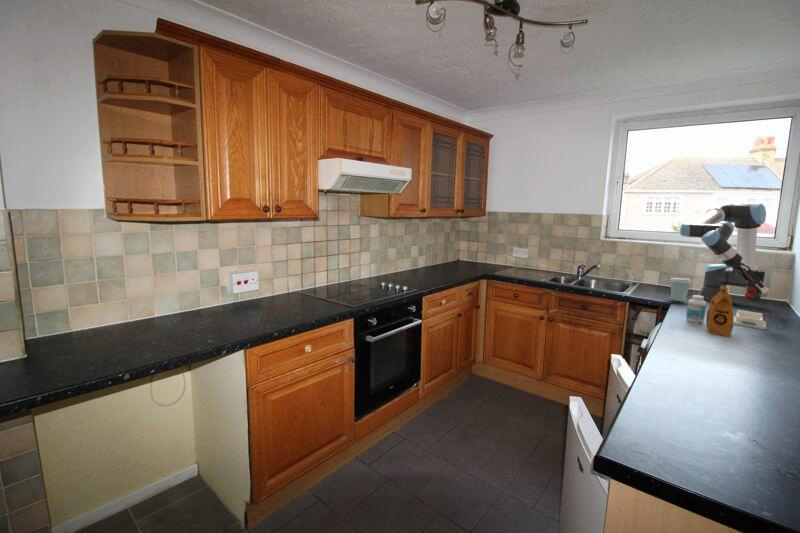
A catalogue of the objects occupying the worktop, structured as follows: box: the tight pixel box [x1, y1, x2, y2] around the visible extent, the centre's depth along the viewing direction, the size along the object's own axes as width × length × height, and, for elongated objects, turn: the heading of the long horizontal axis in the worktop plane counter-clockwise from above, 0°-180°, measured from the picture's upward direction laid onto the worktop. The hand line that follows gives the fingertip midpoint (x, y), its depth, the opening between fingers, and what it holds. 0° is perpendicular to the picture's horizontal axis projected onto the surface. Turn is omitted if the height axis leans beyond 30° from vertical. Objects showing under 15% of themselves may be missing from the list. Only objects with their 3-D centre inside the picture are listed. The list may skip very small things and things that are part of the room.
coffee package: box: [705, 286, 735, 338], centre depth 181 cm, size 10×12×22 cm
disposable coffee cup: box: [670, 277, 692, 302], centre depth 241 cm, size 11×11×15 cm
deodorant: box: [744, 270, 766, 302], centre depth 195 cm, size 6×6×15 cm
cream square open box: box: [733, 309, 767, 331], centre depth 197 cm, size 14×13×5 cm
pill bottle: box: [685, 294, 707, 324], centre depth 199 cm, size 8×7×14 cm
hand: (762, 290), depth 195 cm, fingers closed on deodorant, 6 cm apart
